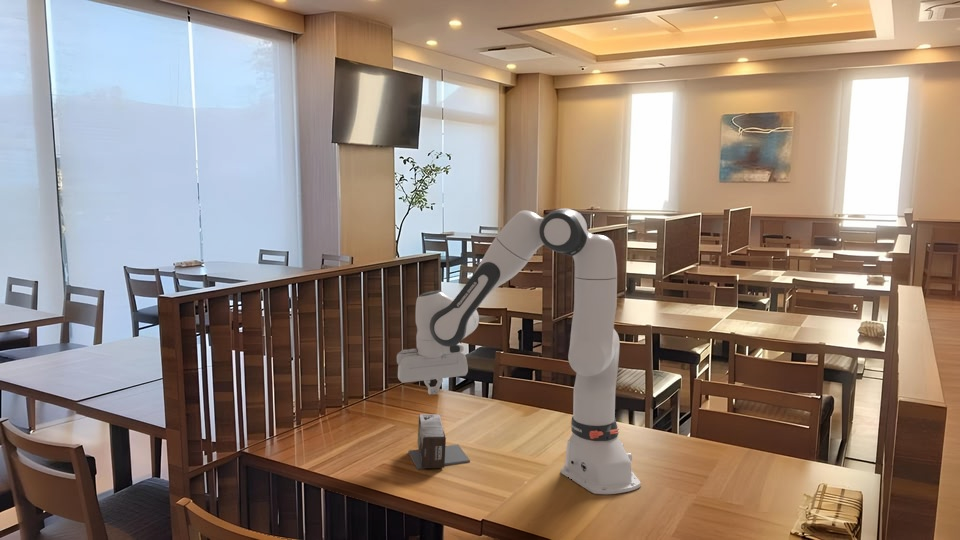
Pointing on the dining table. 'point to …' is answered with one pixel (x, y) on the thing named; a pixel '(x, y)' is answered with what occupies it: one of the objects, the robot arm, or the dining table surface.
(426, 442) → the coffee box
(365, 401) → the dining table surface
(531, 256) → the robot arm
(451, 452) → the rubber mat
